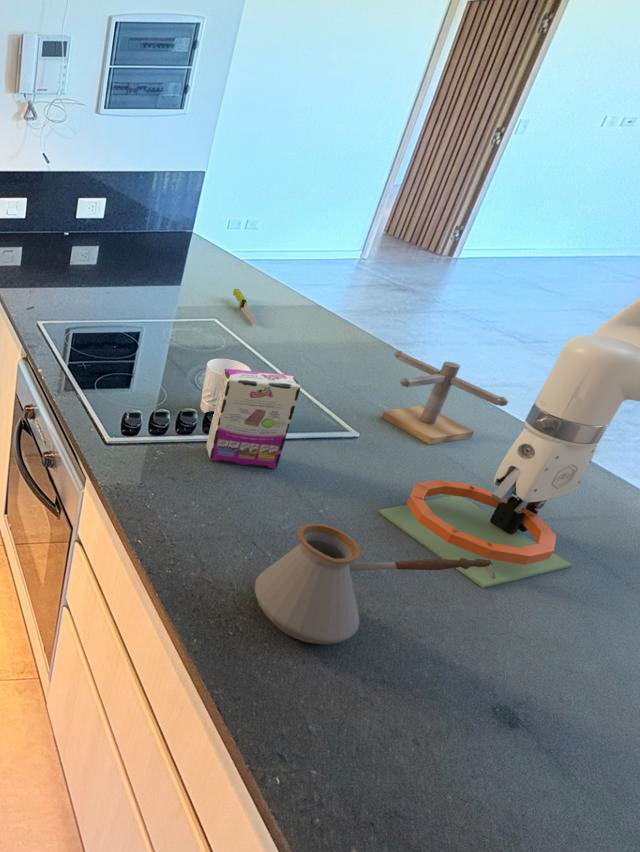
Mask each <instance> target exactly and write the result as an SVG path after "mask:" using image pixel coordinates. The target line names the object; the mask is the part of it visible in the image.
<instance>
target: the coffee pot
mask: <svg viewBox="0 0 640 852" xmlns="http://www.w3.org/2000/svg"><path fill="white" fill-rule="evenodd" d="M297 538H298V540H299V541H298V542H300V544H298V545H296V546H295V547H294V548H293V549H291V550H290V551H289V552H287V553H285V555H283V556H282V557H280V558H279V559H278V560H277V561H275V562H274V563H272V564H271V565H270V566H269V567H267V568H265V570H264V571H261V572H260V574H259V575H258V576H257V578H256V579H255V581H254V593H255V597H256V600H257V603H258V606H259V607H260V609H261V610H262V612H263V614H264V615H265V616H266V617H267V618H268V619H269V620H270V621H271V622H272V624H274V625H275V627H277V628H278V629H279V631H282V633H284V634H285V635H288V636H289V637H292V638H293V639H296V640H298V641H301V642H304V643H311V644H318V645H334V644H335V645H336V644H338V643H342V642H344V641H346V640H349V639H350V638H351V637H352V636H354V635H355V634H356V633H357V631H358V629H359V626H360V616H359V615H360V614H359V610H358V609H359V608H358V603H357V599H356V594H355V589H354V583H353V578H352V574H351V573H352V572H357V571H358V572H359V571H360V572H361V571H381V570H400V571H401V570H403V571H404V570H405V571H406V570H407V571H410V570H411V571H414V570H415V571H444V570H451V569H456V568H458V567H461V568H463V569H468V568H469V567H473V566H477V567H486V569H487V571H488V573H489V575H490V577H491V578H492V579H495V573H494V570H493V568H492V566H491V565H492V563H491V561H490V560H485V559H475V560H467V559H465V558H461V559H459V560H449V559H442V558H437V557H435V558H425V559H424V558H423V559H411V560H398V561H387V562H386V561H385V562H384V561H381V562H380V561H377V562H376V561H375V562H370V561H369V562H356V561H357V560H359V559H360V557H361V548H360V546H359V544H358V542H356V540H355V539H354V538H353V537H351V536H350V535H349V534H347V533H345V531H342V530H340V529H339V528H336V527H333V526H330V525H327V524H322V523H307V524H303V525H302V526H300V527H299V529H298V530H297ZM488 566H490V568H491V571H492V574H493V576H492V575H491V573H490V571H489V568H488Z"/></svg>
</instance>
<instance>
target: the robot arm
mask: <svg viewBox="0 0 640 852" xmlns="http://www.w3.org/2000/svg"><path fill="white" fill-rule="evenodd" d="M558 354H559V355H558V356H557V357H556V360H555V362H554V364H553V366H552V368H551V369H550V371H549V373H548V376H547V377H546V379H545V381H544V382H543V385H542V387H541V389H540V390H539V392H538V394H537V397H536V398H535V401H534V402H533V404H532V406H531V408H530V409H529V412H528V414H527V416H526V418H525V420H524V422H523V424H524V426H525V427H524V428H523V430H522V431H521V432H520V434H519V435H518V436H517V437H516V439H515V440H514V442H513V444H512V445H511V446H510V448H509V449H508V451H507V452H506V455H505V456H504V457H503V460H502V462H501V463H500V465H499V467H498V469H497V471H496V473H495V475H494V478H493V484H494V485H495V486H496V489H495V490H494V491H493V492H494V493H493V494H492V497H494V498H495V499H497V500H498V502H499V504H498V506H497V508H495V509H494V512H493V514H491V515H492V517H491V519H490V522H491V523H492V524H494V525H495V526H497V527H499V528H500V529H502V530H503V531H505V532H507V533H508V534H515V533H516V531H519V532H521V533H525V532H528V530H527V528H526V527H525V526H524V525H523V524H522V523H521V522H522V520H523V518H524V517H525V515H526V514H525V513H524V512H523V511H524V510H525V508H526V509H528V510H529V511H531V512H533V513H535V514H536V515H538V513H539V510H541V509H542V508H544V506H545V504H546V503H547V502H548V500H552V499H557V498H563V497H566V496H569V495H572V494H574V493H575V492H576V491H577V489H578V487H579V486H580V484H581V482H582V481H583V478H584V477H585V475H586V473H587V470H588V468H589V466H590V464H591V462H592V460H593V458H594V455H595V453H596V450H597V447H598V444H599V442H600V441H601V440H602V437H603V436H604V435H605V432H606V431H607V429H608V427H609V426H610V425H611V423H612V421H613V419H614V417H615V416H616V414H617V412H618V410H619V409H620V407H621V405H622V404H623V402H624V401H629V400H630V401H634V402H640V297H639V298H637V299H636V300H634V301H633V302H631V303H629V304H628V305H627V306H625V307H624V308H623V309H621V310H620V311H618V312H617V313H616V314H614V315H613V316H612V317H610V318H609V319H607V320H606V321H605V322H604V323H603V324H602V325H600V327H598V328H597V329H596V330H595V331H594V332H592V334H580V335H577V336H574V337H571V338H570V339H568V340H567V341H566V342H565V343H564V345H563V347H562V348H561V350H560V352H559V353H558ZM512 494H513V495H514V496H513V495H512Z"/></svg>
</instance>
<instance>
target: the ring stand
mask: <svg viewBox="0 0 640 852" xmlns="http://www.w3.org/2000/svg"><path fill="white" fill-rule="evenodd" d="M394 357H395V358H396V360H398V361H400V362H402V363H404V364H407V365H409V366H411V367H413V368H415V369H417V370H420V371H422V372H424V373H426V374H427V375H422V376H415V377H403V378H401V379H400V381H399V384H400V385H401V386H402V387H405V388H413V387H414V388H415V387H420V386H426V385H433V387H432V389H431V391H430V394H429V397H428V399H427V401H426V404H425V405H423V404H422V405H415V406H409V407H403V408H396V409H389V410H384V411H383V412H382V414H381V419H384V420H385V421H387V422H388V423H390V424H392V425H394V426H395V427H397V428H399V429H400V430H402V431H404V432H406V433H408V434H410V435H411V436H412V437H415V438H416V439H418V440H420V441H422V442H424V444H427V445H428V446H430V445H435V444H442V443H448V442H454V441H460V440H464V439H465V440H466V439H471V438H472V436H473V435H474V432H475V431H474V430H472V429H471V428H469V427H467V426H465V425H463V424H461V423H459V422H458V421H455V420H453V419H452V418H449V417H447V416H445V414H442V413H441V411H442V410H443V407H444V404H445V402H446V400H447V398H448V395H449V393H450V392H451V389H452V386H454V387H456V388H458V389H461V390H463V391H465V392H467V393H469V394H471V395H473V396H475V397H477V398H479V399H481V400H484V401H486V402H488V403H490V404H493V405H495V406H499V407H505V406H507V405H508V404H509V399H507V397H504V396H500V395H497V394H495V393H492V392H490V391H489V390H486V389H484V388H481V387H479V386H477V385H475V384H473V383H470V382H468V381H466V380H464V379H462V378H459V377H458V373H459V370H460V368H461V365H460V364H459V363H456V362H453V361H443V363H442V366H441V369H440V368H437V367H435V366H433V365H431V364H428V363H426V362H425V361H421V360H419V359H418V358H415V357H413V356H410V355H408V354H406V353H405V352H404V351H402V350H397V351H395V352H394Z"/></svg>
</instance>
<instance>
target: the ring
mask: <svg viewBox="0 0 640 852" xmlns="http://www.w3.org/2000/svg"><path fill="white" fill-rule="evenodd" d="M493 493H494V491H490V490H488V489H485V488H482V487H479V486H476V485H474V484H470V483H464V482H458V481H451V480H444V479H434V480H428V481H422V482H417V483H415V485H414V487H413V489H412V491H411V493H410V494H409V497H408V498H407V501H406V505H408V507H409V508H410V510H411V512H412V513H413V515H414V516H415V518H416V519H417V521H418V522H419V523H420V524H422V525H423V526H425V527H426V528H428V529H429V530H430V531H432V532H433V533H435V534H436V535H438V536H439V537H441V538H442V539H443V540H445V541H446V542H448V543H450V544H453V545H455V546H458V547H460V548H463V549H465V550H467V551H470V552H472V553H475V554H477V555H480V556H482V557H485V558H488V559H494V560H500V561H505V562H511V563H517V564H523V565H526V564H530V563H534V562H539V561H543V560H547V559H549V558H550V557H551V555H552V553H555V548H556V541H557V534H556V533H555V532H554V531H553V530H552V529H551V528H550V527H549V526H548V524H546V522H545V521H544V520H543V519H542V518H541V517H540V516H539V515H538V514H537V515H536V514H535V513H533V512H531V511H529V510H528V509H526V508H525V510H524V511H523V512H524V513H525V514H526V515H525V517H524V518H523V520H522V522H521V523H522V524H523V525H524V526H525V527H526V528H527V532H529V533H530V534H531V535H532V537H533V538H534V539H535V544H534V545H529V546H525V547H520V548H519V547H513V546H507V545H501V544H495V543H489V542H486V541H484V540H481V539H479V538H476V537H474V536H471V535H469V534H466V533H464V532H461V531H459V530H456V529H455V528H453V527H452V526H450V525H449V524H447V523H446V522H444V521H443V520H441V519H440V518H438V517H437V516H436V515H434V514H433V513H432V511H431V510H430V509H429V507H428V506H427V504H426V503H425V501H426V500H424V499H425V498H429V497H432V496H438V495H447V496H459V497H463V498H465V499H467V498H468V499H470V500H472V501H476V502H479V503H481V504H484V505H487V506H489V507H492V508H495V509H496V508H497V506H498V504H499V502H498V500H497V499H495V498H494V497H492V494H493Z"/></svg>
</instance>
